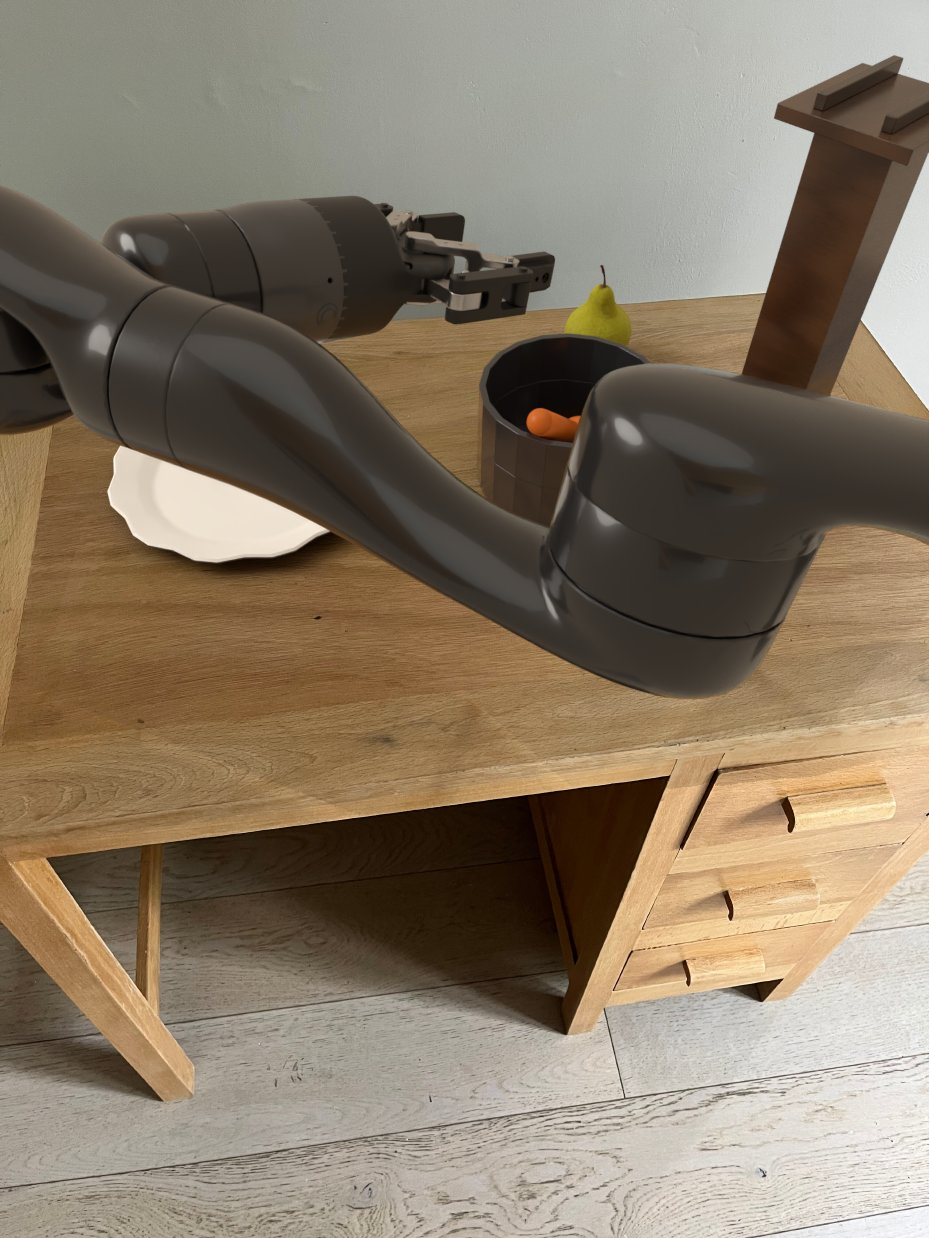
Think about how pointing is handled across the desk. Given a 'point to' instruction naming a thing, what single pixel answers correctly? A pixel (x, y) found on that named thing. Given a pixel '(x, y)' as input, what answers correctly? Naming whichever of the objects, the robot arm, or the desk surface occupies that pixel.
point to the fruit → (601, 316)
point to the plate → (201, 513)
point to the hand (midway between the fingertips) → (502, 249)
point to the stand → (839, 218)
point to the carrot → (552, 425)
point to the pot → (520, 383)
